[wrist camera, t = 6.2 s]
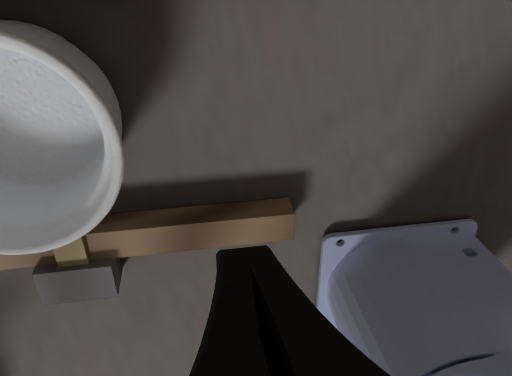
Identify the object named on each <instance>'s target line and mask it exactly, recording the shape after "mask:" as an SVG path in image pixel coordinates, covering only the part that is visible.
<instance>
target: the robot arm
mask: <svg viewBox="0 0 512 376" xmlns="http://www.w3.org/2000/svg"><path fill="white" fill-rule="evenodd" d="M454 227H455V228H454ZM453 228H454V229H453ZM477 228H478V225H477V223H476V222H475V221H474V220H473V219H462V220H453V221H443V222H434V223H424V224H414V225H405V226H395V227H386V228H376V229H366V230H357V231H347V232H338V233H330V234H327V235H325V236H324V237H323V239H322V245H321V256H320V267H319V278H318V289H317V300H316V307H315V305H314V304H313V303H312V302H311V301H310V300H309V299H308V297H307V296H306V295H305V294H304V293H303V292H302V290H301V289H300V288H299V287H298V286H297V285H296V283H295V282H294V281H293V280H292V278H291V277H290V276H289V274H288V273H287V272H286V271H285V269H284V268H283V267H282V265H281V264H280V262H279V261H278V260H277V258H276V257H275V255H274V254H273V252H272V251H271V249H270V248H269V247H268V246H266V245H264V246H255V247H245V248H236V249H226V250H220V251H219V252H218V253H217V254H216V263H217V275H216V283H215V290H214V295H213V299H212V304H211V309H210V313H209V317H208V321H207V324H206V327H205V331H204V334H203V338H202V341H201V344H200V347H199V350H198V353H197V356H196V359H195V362H194V364H193V367H192V370H191V372H190V375H189V376H512V273H511V272H510V271H509V270H508V269H507V268H506V267H505V266H504V265H503V264H502V263H501V262H500V261H499V260H498V259H497V258H496V257H495V256H494V255H493V254H492V253H491V252H490V251H489V250H488V249H487V248H486V247H485V246H484V245H483V244H482V243H481V242H480V241H479V240H478V239H477V238H476V237H475V234H476V231H477ZM451 229H453V230H451ZM340 239H342V241H341V242H337V241H338V240H340Z"/></svg>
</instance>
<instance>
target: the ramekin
mask: <svg viewBox="0 0 512 376" xmlns="http://www.w3.org/2000/svg"><path fill="white" fill-rule="evenodd" d="M123 176H124V151H123V143H122V120H121V111H120V108H119V104H118V100H117V98H116V95H115V93H114V91H113V88H112V86H111V85H110V83H109V81H108V79H107V77H106V76H105V74H104V73H103V72H102V71H101V69H100V68H99V67H98V65H97V64H96V63H94V62H93V61H92V60H91V59H90V58H89V57H88V56H87V55H86V54H84V53H83V52H82V51H80V50H79V49H78V48H77V47H76V46H75V45H73V44H72V43H70V42H68V41H67V40H65V39H64V38H63V37H61V36H60V35H58V34H56V33H53V32H51V31H49V30H47V29H46V28H43V27H39V26H36V25H33V24H30V23H24V22H19V21H15V20H0V254H3V255H22V254H33V253H41V252H45V251H49V250H52V249H56V248H59V247H62V246H64V245H67V244H69V243H71V242H73V241H75V240H77V239H79V238H80V237H82V236H84V235H85V234H86V233H88V232H90V231H91V230H92V229H93V228H94V227H96V225H98V224H99V223H100V222H101V221H102V220H103V218H104V217H105V216H106V215H107V214H108V213H109V211H110V210H111V208H112V206H113V205H114V203H115V200H116V199H117V196H118V194H119V191H120V188H121V185H122V181H123Z"/></svg>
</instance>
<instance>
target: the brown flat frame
mask: <svg viewBox="0 0 512 376" xmlns="http://www.w3.org/2000/svg"><path fill="white" fill-rule="evenodd" d="M294 232H295V212H294V210H293V207H292V205H291V203H290V200H289V198H288V197H287V198H276V199H265V200H254V201H244V202H233V203H222V204H211V205H200V206H189V207H178V208H167V209H156V210H145V211H134V212H123V213H112V214H107V215H106V216H105V217H104V218H103V220H102V221H101V222H100V223H99V224H98V225H96V227H94V228H93V229H92V230H91V231H90V232H88V233H86V234H85V235H84V236H82V237H80V238H79V239H77V240H75V241H73V242H71V243H69V244H67V245H64V246H62V247H59V248H56V249H52V250H49V251H45V252H41V253H33V254H22V255H3V254H0V270H7V269H16V268H26V267H35V266H36V267H35V269H34V271H33V274H32V276H33V279H34V282H35V285H36V287H37V290H38V293H39V296H40V299H41V301H42V304H43V305H52V304H60V303H69V302H77V301H86V300H94V299H103V298H112V297H118V293H119V287H120V281H121V275H122V263H121V259H120V258H121V257H131V256H140V255H150V254H159V253H169V252H179V251H188V250H198V249H207V248H217V247H226V246H236V245H245V244H255V243H264V242H274V241H283V240H293V239H294Z"/></svg>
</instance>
